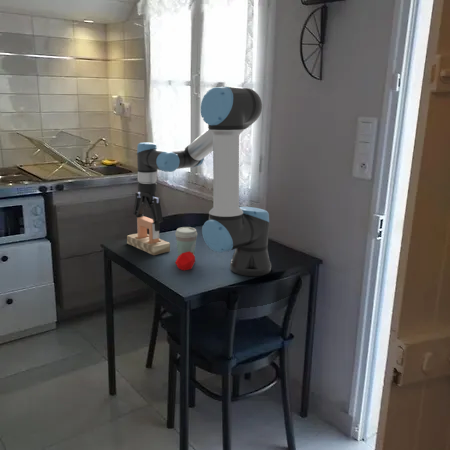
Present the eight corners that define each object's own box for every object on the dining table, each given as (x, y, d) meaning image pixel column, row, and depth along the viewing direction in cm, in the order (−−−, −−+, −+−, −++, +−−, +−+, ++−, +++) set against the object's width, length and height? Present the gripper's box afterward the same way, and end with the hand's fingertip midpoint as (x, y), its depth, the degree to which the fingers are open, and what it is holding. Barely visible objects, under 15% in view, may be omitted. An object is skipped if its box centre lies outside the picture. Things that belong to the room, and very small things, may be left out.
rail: (170, 251, 195) (170, 243, 194) (153, 255, 190) (153, 246, 189) (143, 239, 208) (142, 232, 207) (127, 243, 203) (127, 235, 202)
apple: (179, 259, 171) (195, 247, 175) (169, 257, 176) (184, 246, 181) (187, 275, 174) (202, 263, 178) (176, 273, 179) (191, 261, 183)
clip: (158, 245, 196) (158, 221, 194) (151, 246, 194) (151, 222, 191) (144, 239, 203) (144, 216, 200) (137, 240, 201) (137, 217, 198)
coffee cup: (193, 264, 182) (194, 233, 179) (172, 262, 183) (172, 231, 180) (199, 256, 190) (200, 227, 187) (178, 254, 192) (178, 225, 188)
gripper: (172, 185, 186) (172, 240, 192) (139, 176, 202) (140, 227, 208) (156, 187, 181) (157, 243, 187) (123, 178, 197) (125, 230, 203)
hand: (148, 235), depth 198 cm, fingers closed on clip, 10 cm apart
